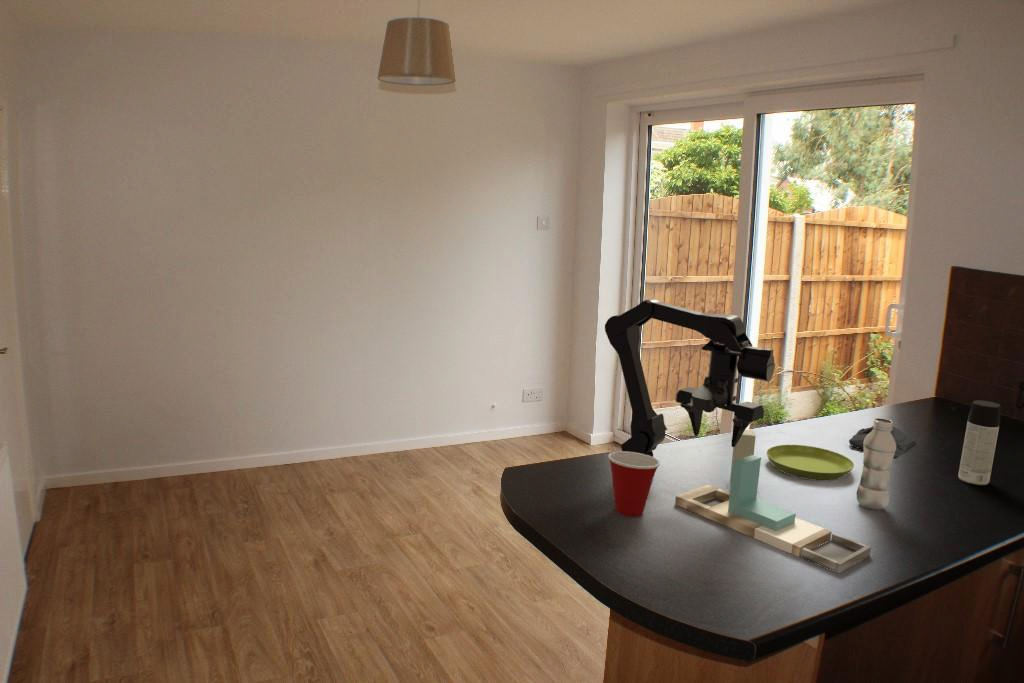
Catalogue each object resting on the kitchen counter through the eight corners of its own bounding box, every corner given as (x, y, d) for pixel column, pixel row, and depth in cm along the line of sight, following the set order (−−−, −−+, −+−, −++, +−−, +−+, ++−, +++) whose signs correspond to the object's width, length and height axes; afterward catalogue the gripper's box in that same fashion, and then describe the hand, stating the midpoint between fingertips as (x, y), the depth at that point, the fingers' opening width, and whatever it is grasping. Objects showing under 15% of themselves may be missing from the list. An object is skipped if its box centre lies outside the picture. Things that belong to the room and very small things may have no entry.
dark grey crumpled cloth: (838, 447, 207) (840, 431, 207) (862, 431, 224) (864, 416, 223) (897, 461, 198) (899, 444, 197) (918, 444, 214) (920, 428, 213)
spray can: (991, 481, 184) (1005, 403, 181) (985, 488, 179) (999, 408, 176) (961, 473, 189) (974, 398, 185) (954, 480, 184) (967, 402, 180)
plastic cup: (666, 512, 156) (670, 458, 154) (636, 526, 149) (640, 470, 147) (624, 496, 164) (628, 445, 162) (593, 509, 156) (597, 455, 154)
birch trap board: (675, 504, 161) (675, 495, 160) (708, 492, 168) (709, 484, 168) (838, 573, 133) (840, 563, 133) (869, 555, 141) (871, 546, 140)
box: (750, 489, 172) (756, 436, 169) (731, 487, 172) (736, 434, 170) (748, 481, 177) (754, 429, 174) (729, 479, 178) (734, 427, 175)
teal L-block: (727, 511, 153) (733, 461, 151) (747, 504, 158) (752, 454, 156) (775, 530, 145) (782, 477, 143) (794, 522, 150) (801, 470, 148)
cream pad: (754, 537, 146) (755, 528, 146) (786, 523, 154) (787, 514, 153) (791, 553, 140) (792, 544, 140) (823, 537, 148) (824, 528, 147)
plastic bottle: (874, 515, 160) (887, 426, 156) (848, 503, 166) (860, 417, 162) (894, 510, 163) (907, 423, 159) (867, 499, 169) (879, 415, 165)
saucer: (798, 451, 202) (799, 440, 201) (869, 476, 185) (871, 464, 184) (748, 463, 190) (749, 451, 190) (819, 490, 174) (820, 477, 173)
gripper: (665, 368, 162) (658, 436, 165) (743, 387, 149) (734, 460, 152) (692, 362, 170) (685, 427, 173) (769, 380, 157) (760, 449, 160)
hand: (714, 440), depth 164 cm, fingers open, 9 cm apart
